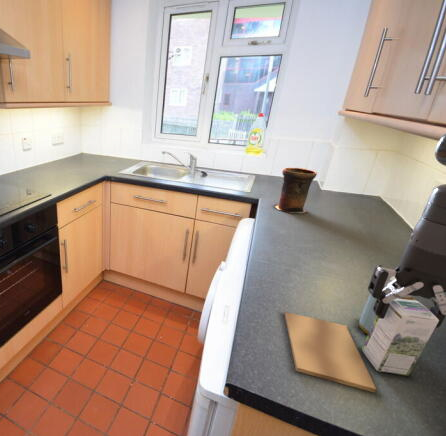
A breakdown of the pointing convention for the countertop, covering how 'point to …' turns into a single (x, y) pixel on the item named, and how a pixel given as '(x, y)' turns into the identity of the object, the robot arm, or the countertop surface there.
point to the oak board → (326, 351)
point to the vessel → (295, 189)
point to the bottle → (369, 314)
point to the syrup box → (399, 336)
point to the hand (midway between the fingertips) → (403, 321)
